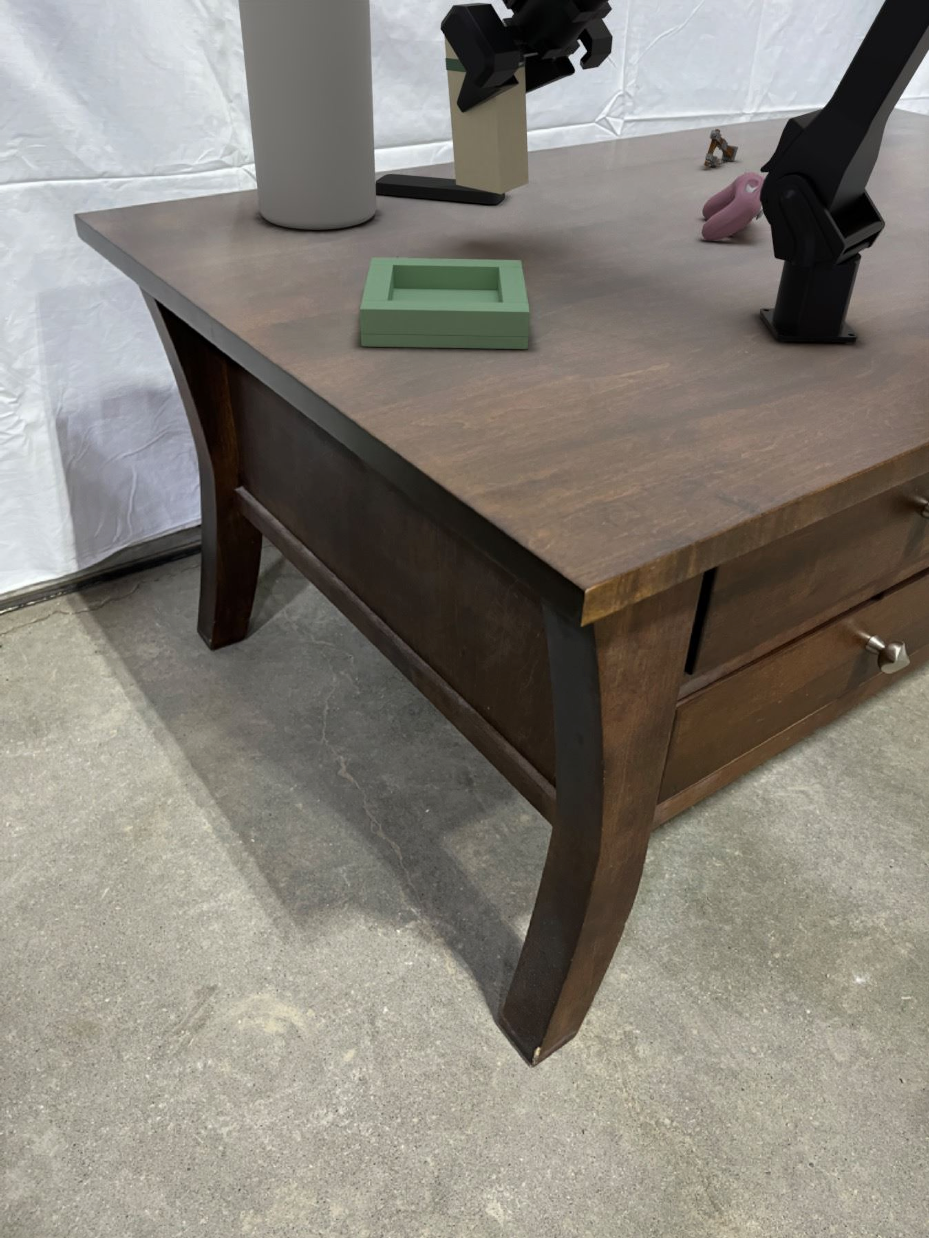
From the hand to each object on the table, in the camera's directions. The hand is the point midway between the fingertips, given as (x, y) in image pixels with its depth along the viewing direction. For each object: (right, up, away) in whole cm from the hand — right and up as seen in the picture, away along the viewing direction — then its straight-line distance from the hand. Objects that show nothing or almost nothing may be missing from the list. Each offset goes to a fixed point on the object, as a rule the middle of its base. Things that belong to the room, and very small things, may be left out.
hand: (477, 105), depth 92 cm
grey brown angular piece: (+33, +12, +39) cm, 52 cm away
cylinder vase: (-17, -5, +15) cm, 23 cm away
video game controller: (+27, -7, +13) cm, 31 cm away
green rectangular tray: (-3, -23, -10) cm, 25 cm away
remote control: (-4, +1, +23) cm, 23 cm away
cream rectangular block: (+2, -6, +3) cm, 7 cm away
